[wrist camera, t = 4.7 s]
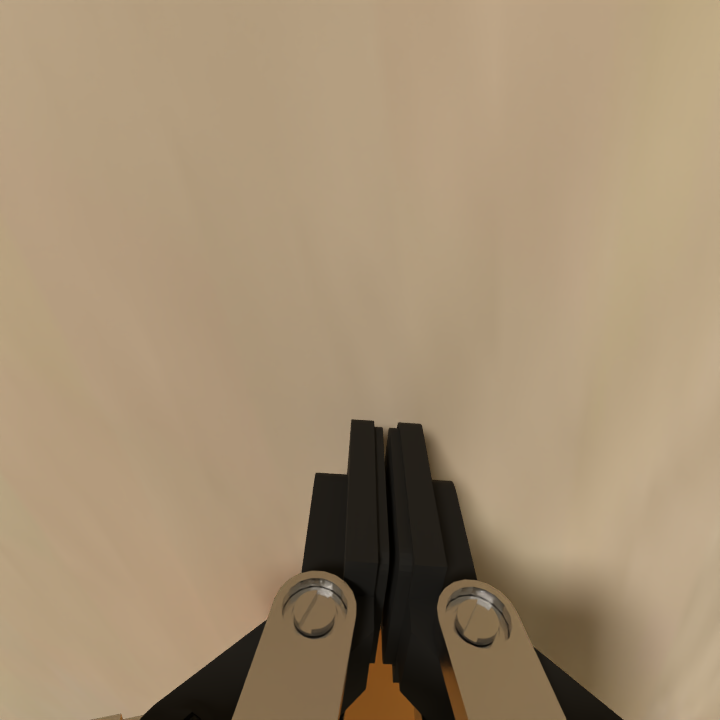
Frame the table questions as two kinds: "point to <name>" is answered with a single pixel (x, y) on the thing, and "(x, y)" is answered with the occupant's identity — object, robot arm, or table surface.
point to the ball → (380, 695)
